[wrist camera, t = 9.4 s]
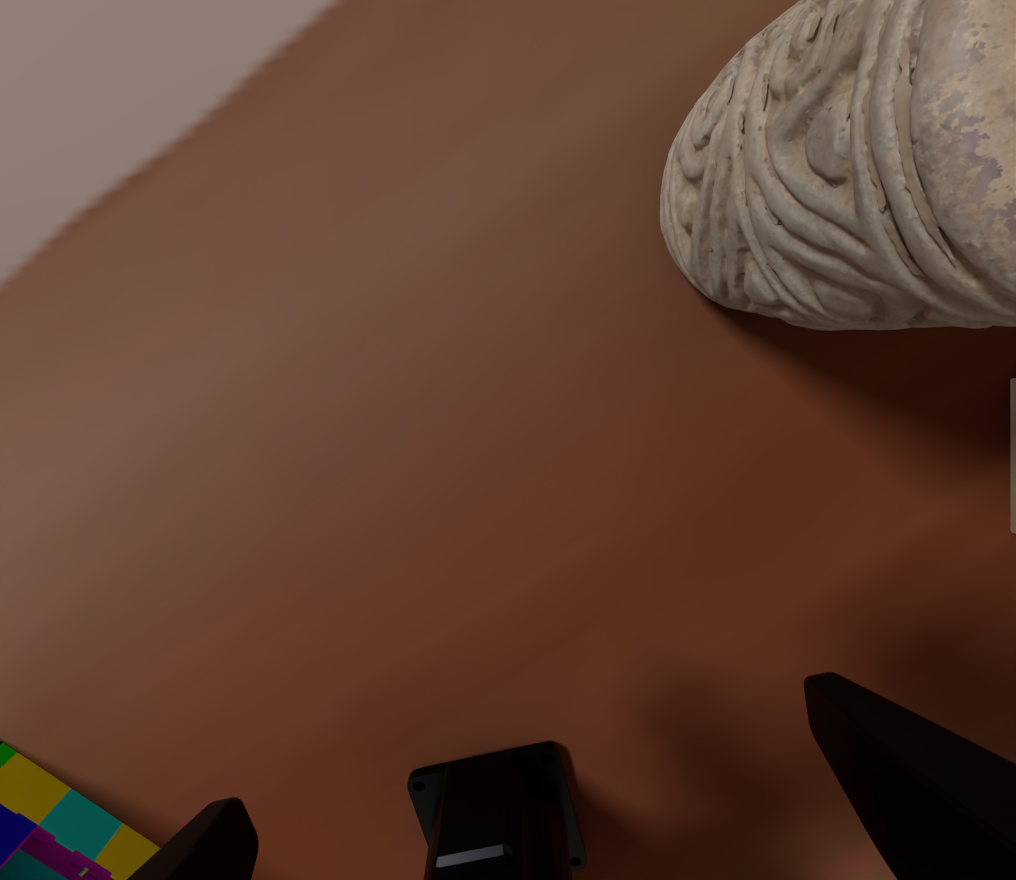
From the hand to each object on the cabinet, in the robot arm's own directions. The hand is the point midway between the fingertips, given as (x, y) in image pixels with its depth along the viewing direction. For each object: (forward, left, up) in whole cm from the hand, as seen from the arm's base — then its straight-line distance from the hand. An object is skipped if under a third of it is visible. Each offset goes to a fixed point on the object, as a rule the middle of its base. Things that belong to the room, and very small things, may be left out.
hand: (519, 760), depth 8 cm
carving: (+8, -10, -12) cm, 18 cm away
